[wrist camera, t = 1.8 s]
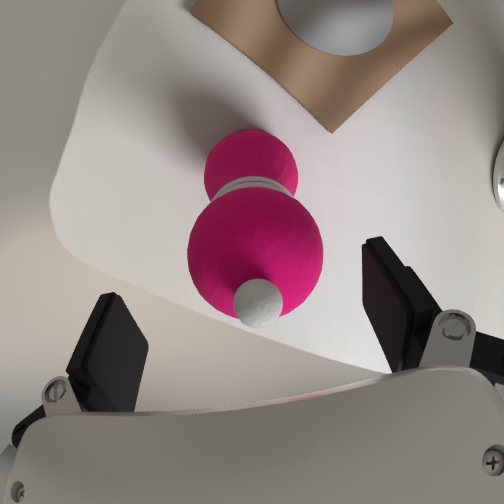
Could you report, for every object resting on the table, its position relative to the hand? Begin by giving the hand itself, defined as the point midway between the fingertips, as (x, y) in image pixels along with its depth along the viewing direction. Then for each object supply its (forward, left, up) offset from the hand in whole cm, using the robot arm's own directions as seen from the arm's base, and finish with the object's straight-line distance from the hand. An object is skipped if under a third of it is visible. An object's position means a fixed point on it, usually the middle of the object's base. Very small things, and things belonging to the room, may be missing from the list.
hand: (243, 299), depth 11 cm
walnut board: (+5, -16, -19) cm, 25 cm away
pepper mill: (0, 0, -19) cm, 19 cm away
